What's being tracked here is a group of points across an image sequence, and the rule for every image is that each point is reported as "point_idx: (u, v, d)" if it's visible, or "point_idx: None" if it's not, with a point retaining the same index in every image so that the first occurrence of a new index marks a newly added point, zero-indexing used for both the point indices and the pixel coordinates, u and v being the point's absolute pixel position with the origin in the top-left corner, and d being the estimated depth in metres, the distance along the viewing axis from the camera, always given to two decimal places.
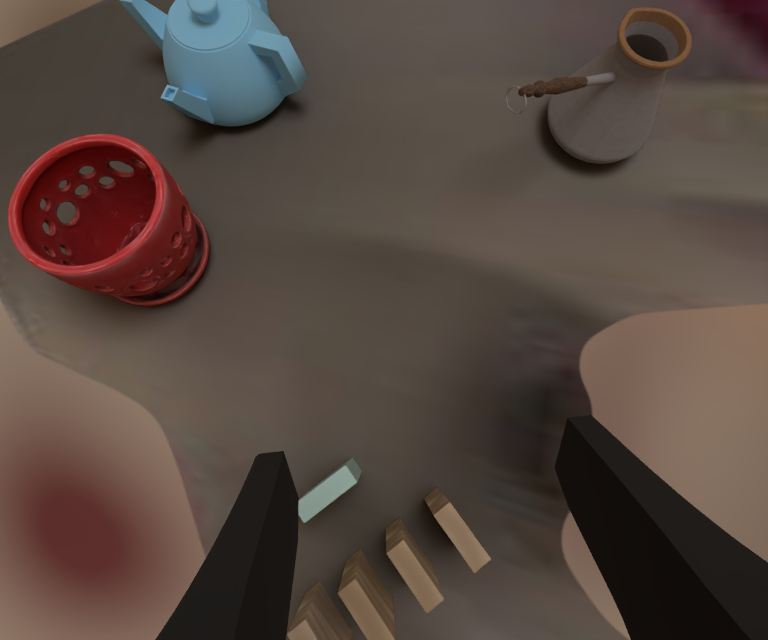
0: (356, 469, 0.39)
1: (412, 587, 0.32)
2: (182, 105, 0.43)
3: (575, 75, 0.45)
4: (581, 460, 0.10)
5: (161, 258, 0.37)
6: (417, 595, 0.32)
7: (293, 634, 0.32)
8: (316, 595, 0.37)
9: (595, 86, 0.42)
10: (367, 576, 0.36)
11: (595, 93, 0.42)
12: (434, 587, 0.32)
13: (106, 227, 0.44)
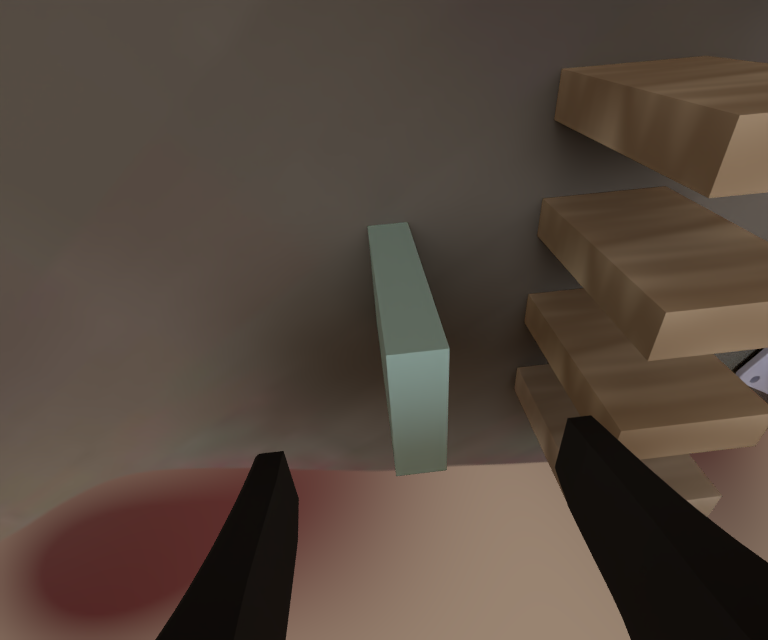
0: (401, 258, 0.15)
1: (756, 344, 0.12)
2: None
3: None
4: (581, 460, 0.10)
5: None
6: None
7: None
8: (543, 410, 0.20)
9: None
10: (599, 345, 0.17)
11: None
12: None
13: None
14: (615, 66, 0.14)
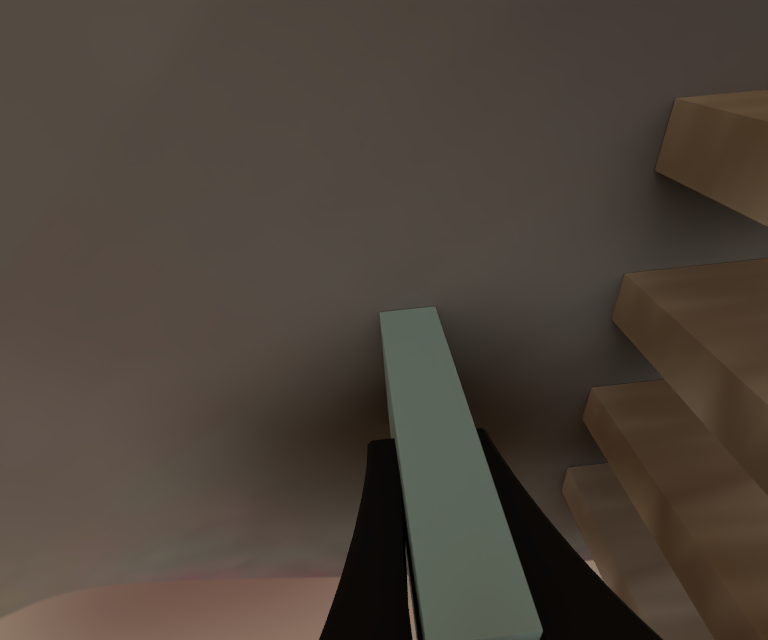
0: (433, 380, 0.10)
1: None
2: None
3: None
4: None
5: None
6: None
7: None
8: (610, 540, 0.15)
9: None
10: (708, 485, 0.12)
11: None
12: None
13: None
14: (762, 95, 0.09)
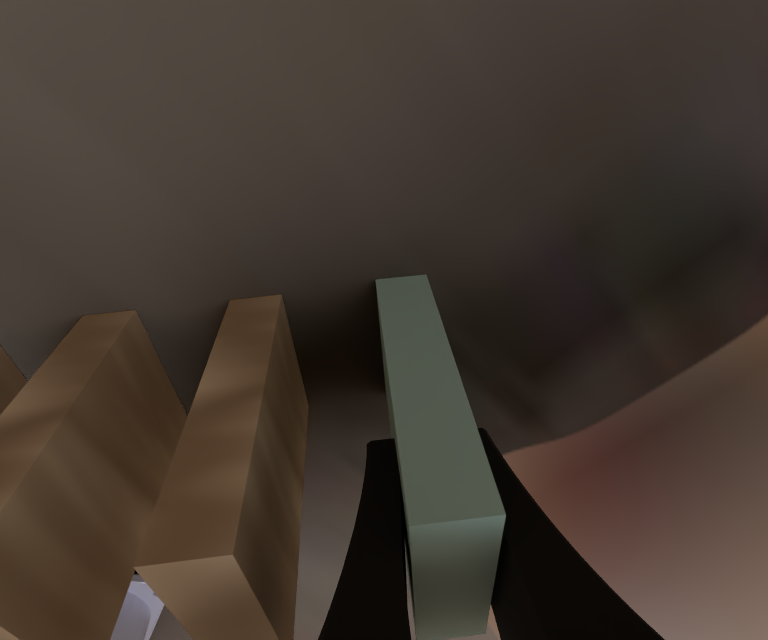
0: (422, 333, 0.11)
1: None
2: None
3: None
4: None
5: None
6: None
7: None
8: None
9: None
10: None
11: None
12: None
13: None
14: (289, 344, 0.14)
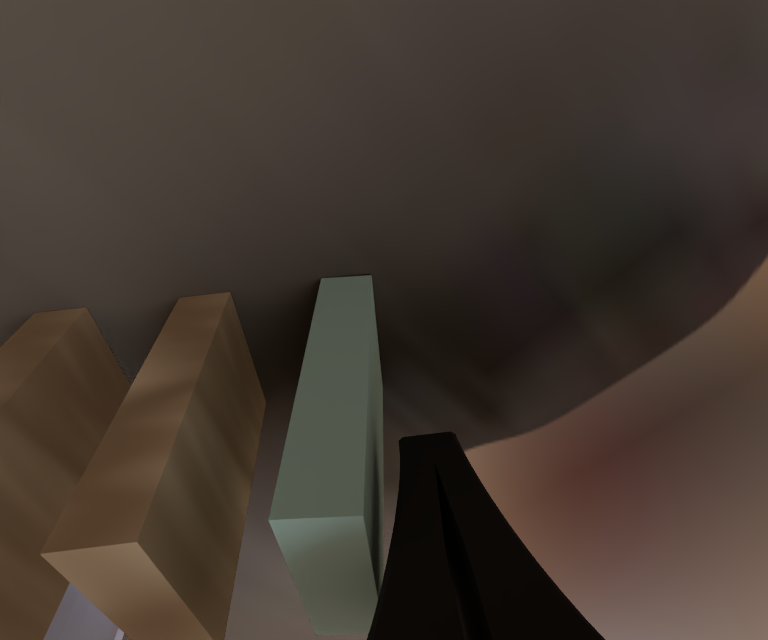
0: (346, 333, 0.11)
1: None
2: None
3: None
4: None
5: None
6: None
7: None
8: None
9: None
10: None
11: None
12: None
13: None
14: (240, 341, 0.14)
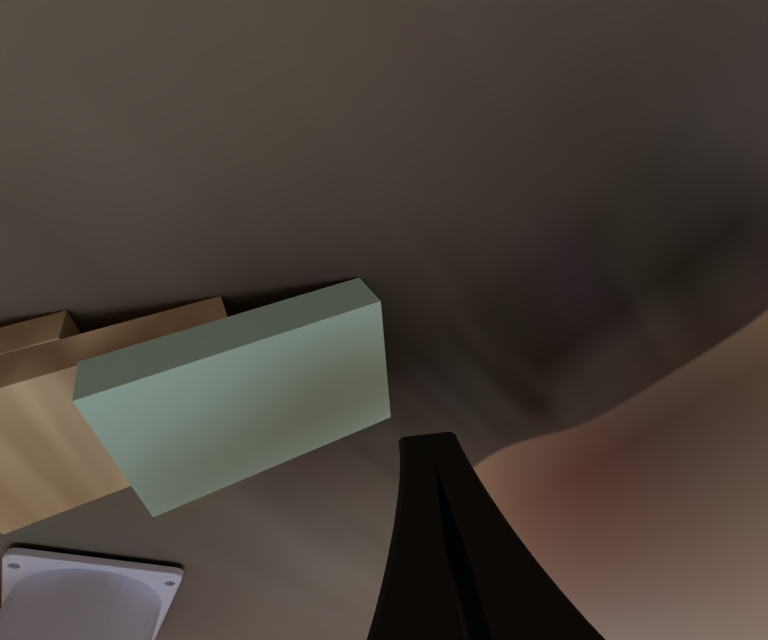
0: (275, 322, 0.12)
1: None
2: None
3: None
4: None
5: None
6: None
7: None
8: None
9: None
10: None
11: None
12: None
13: None
14: None
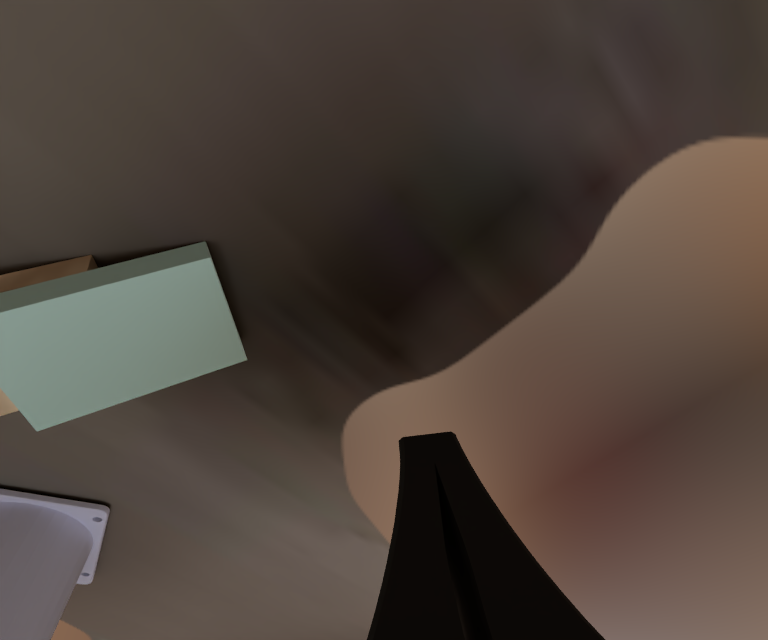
0: (123, 273, 0.15)
1: None
2: None
3: None
4: None
5: None
6: None
7: None
8: None
9: None
10: None
11: None
12: None
13: None
14: None
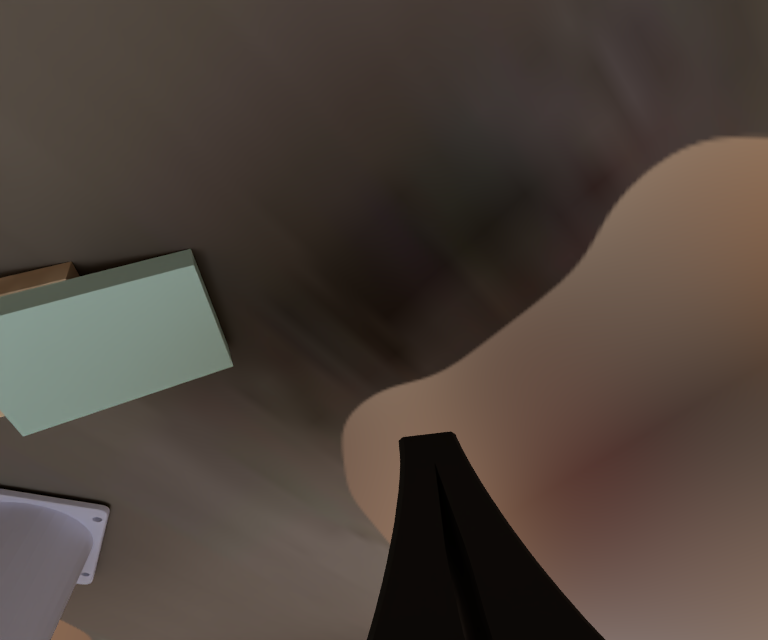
0: (107, 280, 0.16)
1: None
2: None
3: None
4: None
5: None
6: None
7: None
8: None
9: None
10: None
11: None
12: None
13: None
14: None
